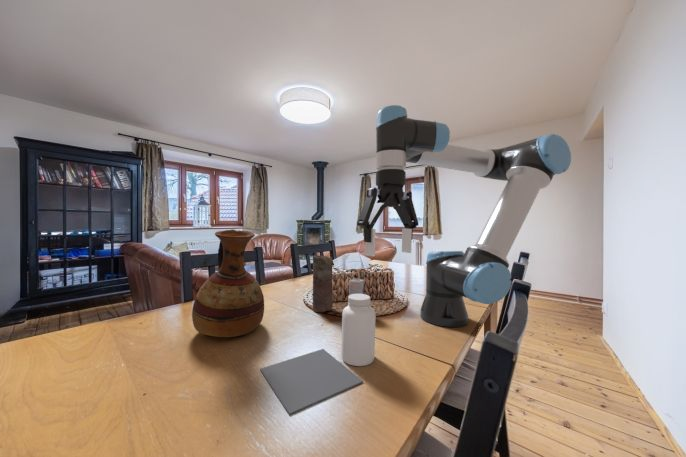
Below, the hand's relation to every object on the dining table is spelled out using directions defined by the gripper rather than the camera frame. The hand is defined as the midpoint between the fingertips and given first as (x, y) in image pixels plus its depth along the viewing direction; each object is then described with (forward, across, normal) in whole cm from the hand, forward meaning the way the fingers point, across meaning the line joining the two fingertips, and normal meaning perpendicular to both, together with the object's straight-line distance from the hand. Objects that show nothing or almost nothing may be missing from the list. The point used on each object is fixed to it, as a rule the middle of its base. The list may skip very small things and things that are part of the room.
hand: (389, 254), depth 68 cm
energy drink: (+25, -8, -24) cm, 35 cm away
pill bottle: (+25, +10, 0) cm, 27 cm away
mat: (+24, +23, 0) cm, 33 cm away
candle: (+25, 0, -34) cm, 42 cm away
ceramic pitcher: (+25, +32, -34) cm, 53 cm away
